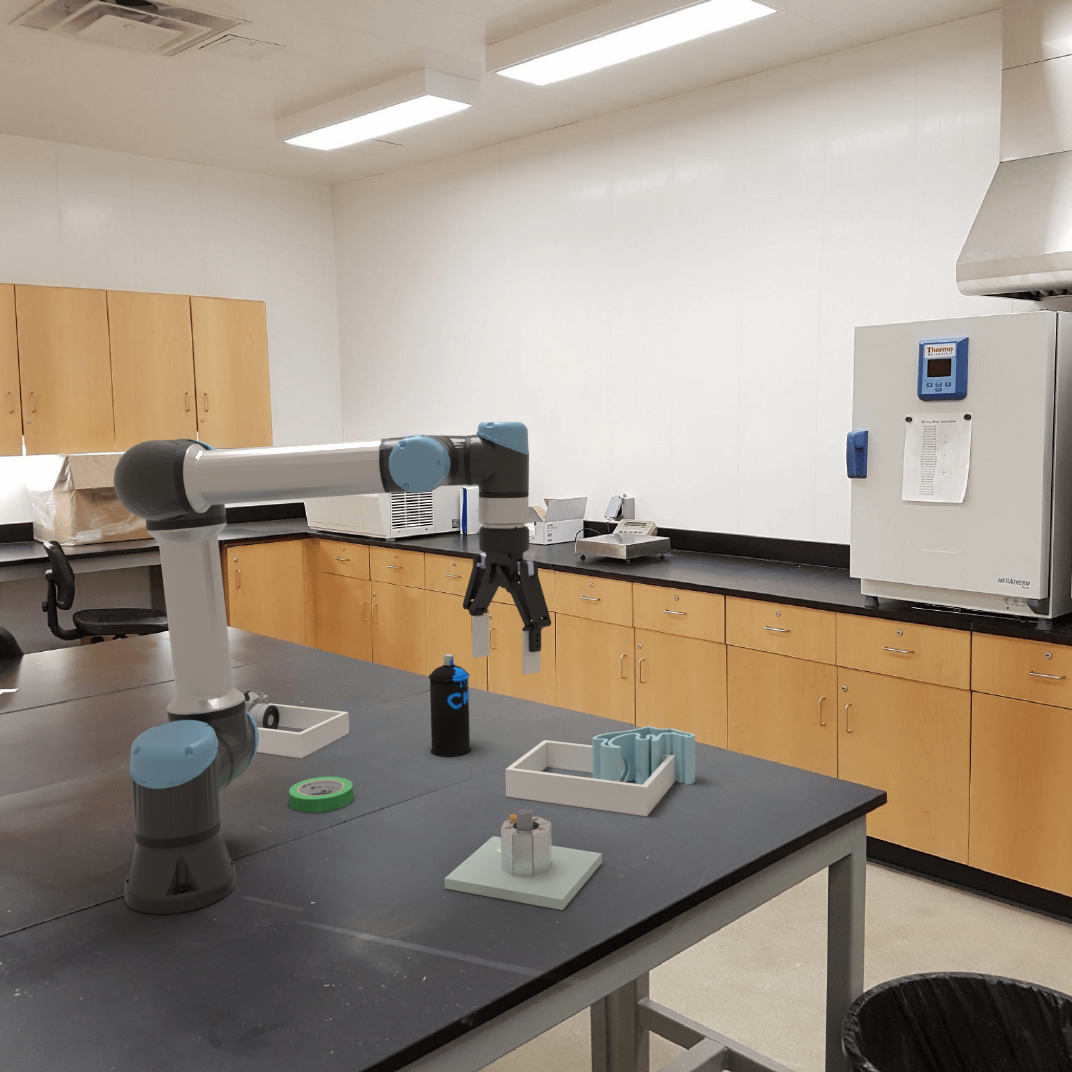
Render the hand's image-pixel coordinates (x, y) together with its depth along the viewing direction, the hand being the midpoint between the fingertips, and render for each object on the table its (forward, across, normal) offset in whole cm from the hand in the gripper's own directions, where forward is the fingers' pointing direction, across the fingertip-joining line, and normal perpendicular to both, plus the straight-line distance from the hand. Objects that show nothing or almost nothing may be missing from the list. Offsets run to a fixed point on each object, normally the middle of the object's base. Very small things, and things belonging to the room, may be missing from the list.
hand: (505, 664), depth 153 cm
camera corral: (+30, +76, +7) cm, 82 cm away
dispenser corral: (+29, +13, -27) cm, 42 cm away
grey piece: (+28, -9, +3) cm, 29 cm away
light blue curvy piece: (+30, +9, -36) cm, 48 cm away
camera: (+30, +82, +10) cm, 88 cm away
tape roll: (+30, +38, +14) cm, 50 cm away
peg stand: (+29, -9, +3) cm, 31 cm away
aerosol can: (+30, +47, -18) cm, 58 cm away
